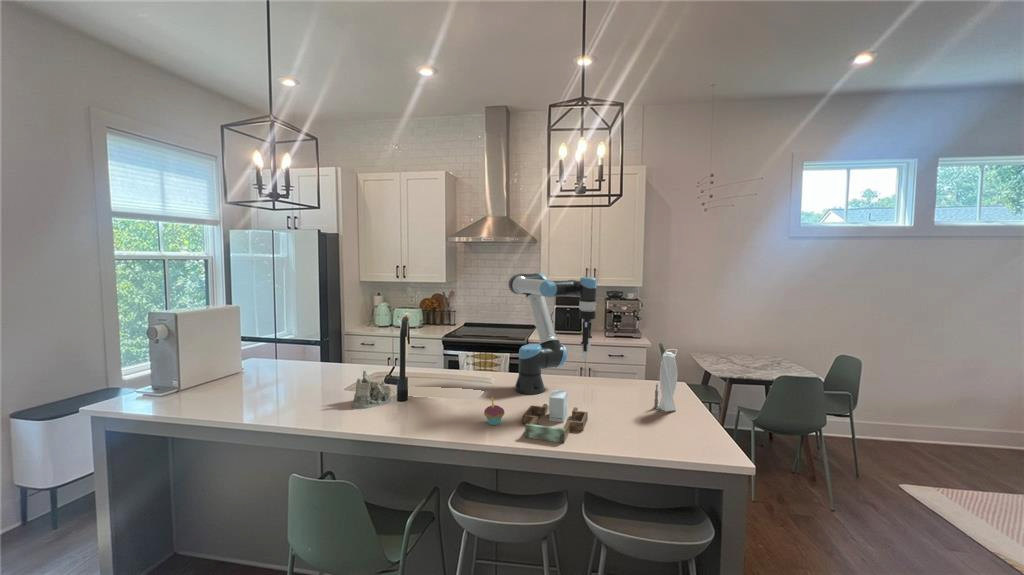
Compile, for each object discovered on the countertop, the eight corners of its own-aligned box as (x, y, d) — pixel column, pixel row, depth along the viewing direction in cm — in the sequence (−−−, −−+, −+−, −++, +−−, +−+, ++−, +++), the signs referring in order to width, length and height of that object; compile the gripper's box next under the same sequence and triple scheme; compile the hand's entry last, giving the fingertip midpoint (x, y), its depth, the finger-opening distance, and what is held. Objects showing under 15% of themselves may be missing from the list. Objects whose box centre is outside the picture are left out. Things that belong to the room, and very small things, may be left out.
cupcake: (499, 428, 174) (499, 399, 173) (480, 425, 177) (480, 396, 176) (507, 420, 182) (507, 392, 181) (488, 417, 185) (488, 390, 184)
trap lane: (512, 435, 166) (513, 423, 166) (533, 410, 195) (533, 399, 195) (577, 445, 159) (577, 431, 158) (588, 416, 187) (589, 405, 187)
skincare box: (552, 412, 192) (553, 389, 192) (567, 414, 191) (567, 390, 190) (548, 421, 182) (548, 396, 181) (563, 422, 180) (564, 398, 180)
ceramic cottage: (346, 407, 195) (348, 375, 195) (364, 397, 212) (366, 367, 211) (378, 412, 193) (381, 379, 192) (394, 401, 209) (396, 371, 209)
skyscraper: (668, 405, 202) (670, 347, 200) (680, 411, 195) (682, 350, 193) (653, 407, 200) (655, 347, 198) (664, 413, 192) (666, 351, 190)
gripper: (593, 314, 189) (592, 361, 191) (597, 307, 213) (595, 349, 215) (576, 313, 191) (575, 360, 193) (581, 306, 215) (580, 348, 217)
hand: (586, 354), depth 204 cm, fingers open, 13 cm apart
